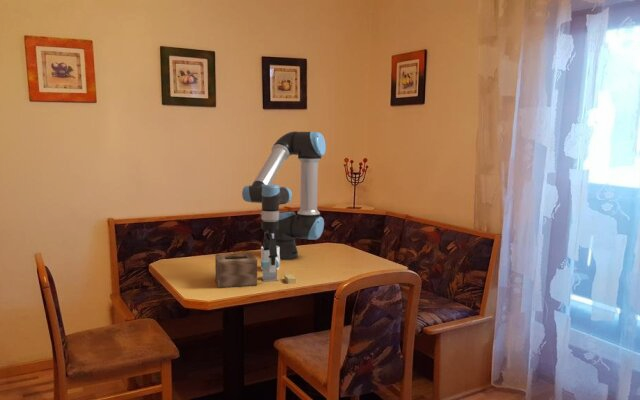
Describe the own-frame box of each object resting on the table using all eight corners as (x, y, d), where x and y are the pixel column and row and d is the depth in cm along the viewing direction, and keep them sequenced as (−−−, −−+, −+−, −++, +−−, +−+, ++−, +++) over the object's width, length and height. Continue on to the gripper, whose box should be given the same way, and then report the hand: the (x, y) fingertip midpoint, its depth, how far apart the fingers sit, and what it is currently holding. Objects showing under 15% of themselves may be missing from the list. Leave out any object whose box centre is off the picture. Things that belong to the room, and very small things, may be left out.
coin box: (252, 277, 228) (252, 253, 226) (257, 285, 215) (257, 260, 214) (215, 279, 223) (215, 254, 222) (218, 288, 211) (218, 261, 210)
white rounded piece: (271, 274, 234) (271, 251, 233) (257, 268, 243) (257, 246, 242) (287, 271, 239) (287, 248, 238) (272, 266, 249) (272, 244, 247)
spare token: (284, 280, 226) (284, 274, 226) (291, 279, 227) (291, 274, 227) (288, 284, 220) (288, 278, 219) (296, 283, 221) (296, 278, 220)
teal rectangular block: (276, 265, 228) (276, 259, 228) (278, 267, 225) (278, 261, 224) (261, 266, 226) (261, 260, 226) (262, 268, 223) (262, 262, 222)
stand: (275, 276, 230) (275, 264, 229) (278, 280, 224) (278, 267, 223) (261, 277, 228) (261, 265, 227) (263, 281, 222) (263, 268, 221)
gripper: (256, 216, 234) (256, 262, 236) (266, 225, 210) (266, 276, 212) (273, 216, 236) (272, 261, 238) (284, 224, 212) (284, 275, 214)
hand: (269, 268), depth 225 cm, fingers open, 13 cm apart
